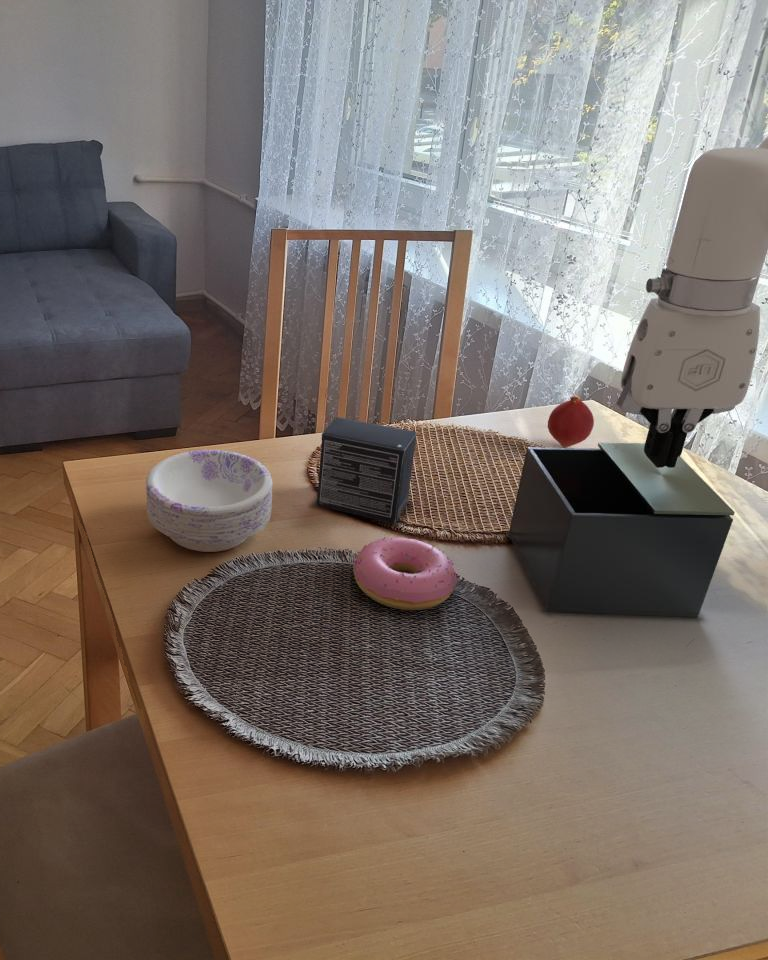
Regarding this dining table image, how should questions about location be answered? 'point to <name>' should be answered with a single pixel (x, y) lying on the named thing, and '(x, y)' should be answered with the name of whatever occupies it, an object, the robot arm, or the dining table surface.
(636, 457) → the flap
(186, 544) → the paper bowls
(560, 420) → the onion
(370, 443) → the small box
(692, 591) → the bin
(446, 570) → the doughnut
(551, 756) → the dining table surface
